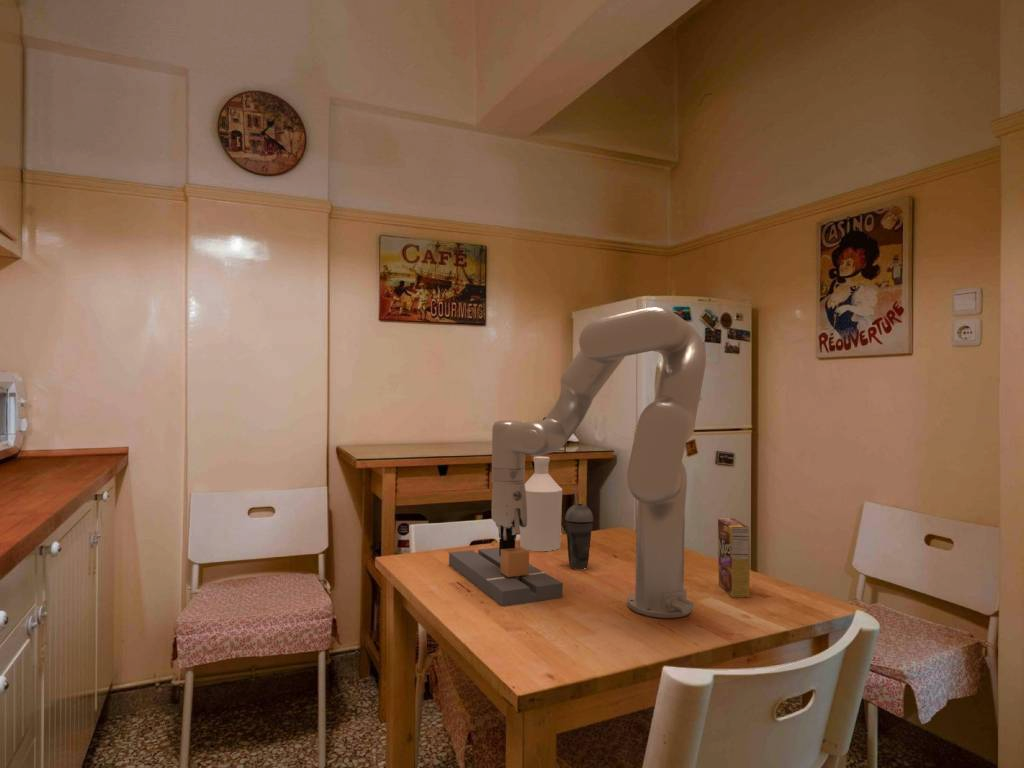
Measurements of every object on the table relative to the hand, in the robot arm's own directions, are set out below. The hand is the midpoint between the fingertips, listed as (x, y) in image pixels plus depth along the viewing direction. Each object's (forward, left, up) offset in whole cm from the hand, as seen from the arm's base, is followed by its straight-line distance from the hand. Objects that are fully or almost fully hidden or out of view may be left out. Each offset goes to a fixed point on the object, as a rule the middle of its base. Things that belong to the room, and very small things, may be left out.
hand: (507, 556), depth 138 cm
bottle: (+26, -23, -6) cm, 35 cm away
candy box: (-24, -44, -6) cm, 51 cm away
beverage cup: (+5, -22, -6) cm, 23 cm away
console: (+3, 0, -6) cm, 7 cm away
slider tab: (-4, 0, -4) cm, 6 cm away
